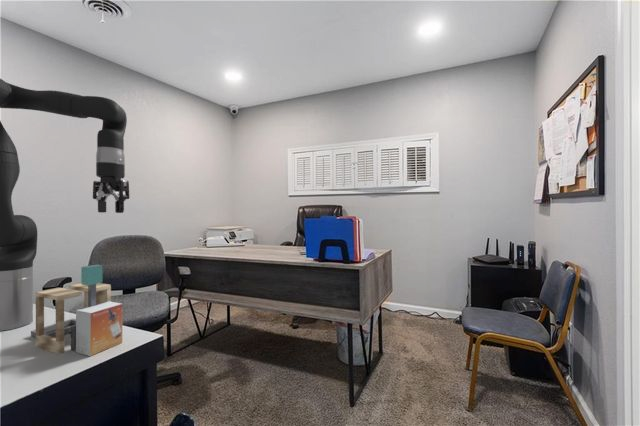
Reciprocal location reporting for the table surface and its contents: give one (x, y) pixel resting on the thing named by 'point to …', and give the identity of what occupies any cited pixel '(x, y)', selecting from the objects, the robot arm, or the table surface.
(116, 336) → the small box
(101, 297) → the tunnel
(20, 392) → the table surface
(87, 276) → the slider
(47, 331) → the tray
